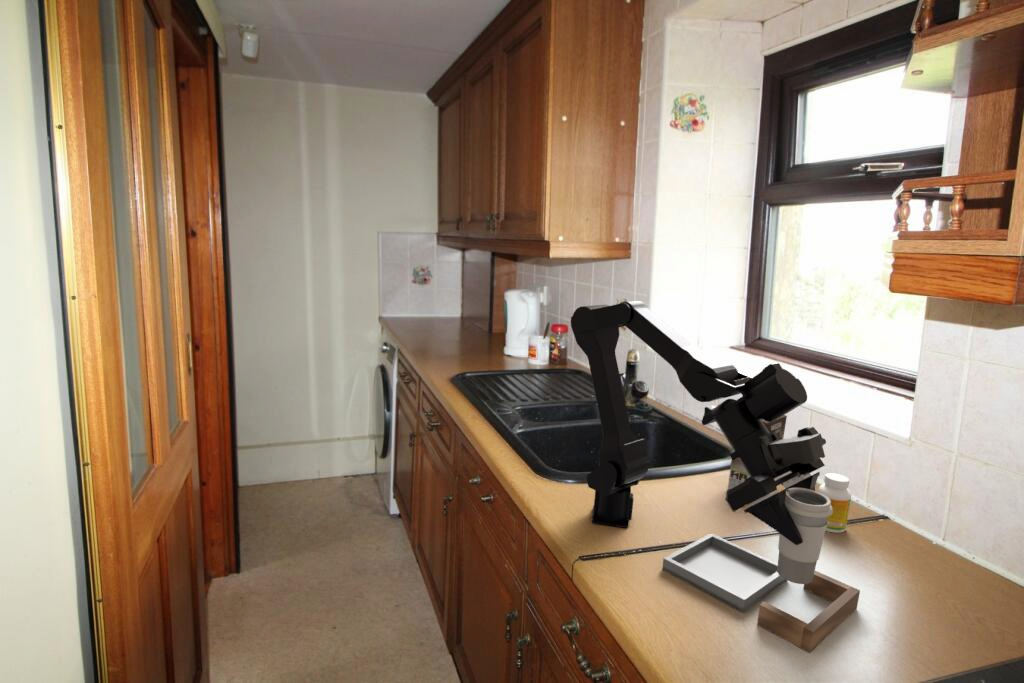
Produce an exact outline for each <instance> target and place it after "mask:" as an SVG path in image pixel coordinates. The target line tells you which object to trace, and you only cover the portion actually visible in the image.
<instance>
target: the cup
mask: <svg viewBox="0 0 1024 683" xmlns="http://www.w3.org/2000/svg"><path fill="white" fill-rule="evenodd" d="M785 506H786V507H787V509H788V511H789V513H790V515H791V517H792V519H793V521H794V523H795V525H796V527H797V529H798V531H799V533H800V535H801V537H802V540H803V543H801V544H799V545H795V544H794V543H792V542H791V541H790V540H788V539H787V538H785V537H784V536H783V535H781V534H780V533H779V534H778V535H779V536H778V546H777V547H778V556H777V557H778V559H777V563H778V567H777V572H778V574H779V575H780V576H781V577H782V578H784V579H786V580H787V581H789V582H791V583H793V584H797V585H804V584H809V583H811V582H812V579H813V575H814V571H816V566H817V562H818V561H819V558H820V555H821V551H822V546H823V543H824V539H825V534H826V532H827V531H826V527H827V517H828V516H830V515H831V514H832V513H833V509H832V506H831V501H830V499H829V498H828V497H827V496H825V495H824V494H822V493H819V492H818V491H816V490H815V491H814V490H810V489H806V488H789V489H787V490H786V496H785Z"/></svg>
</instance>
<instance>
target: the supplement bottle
mask: <svg viewBox="0 0 1024 683" xmlns="http://www.w3.org/2000/svg"><path fill="white" fill-rule="evenodd" d="M849 485H850V479H849V477H847V476H845V475H842V474H839V473H834V472H833V473H831V472H828V473H826V474H825V475H824V479H823V483H822V484H820V486H819V487H818V491H817V492H819V493H822V494H824V495H825V496H827V497H828V498H829V499H830V501H831V506H832V509H833V513H832V514H831V515H830V516H828V517H827V527H826V531H825V532H829V533H835V534H841V533H843V532H846V529H847V524H848V518H849V512H850V505H851V500H852V492H851V491H850V490H849Z"/></svg>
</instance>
